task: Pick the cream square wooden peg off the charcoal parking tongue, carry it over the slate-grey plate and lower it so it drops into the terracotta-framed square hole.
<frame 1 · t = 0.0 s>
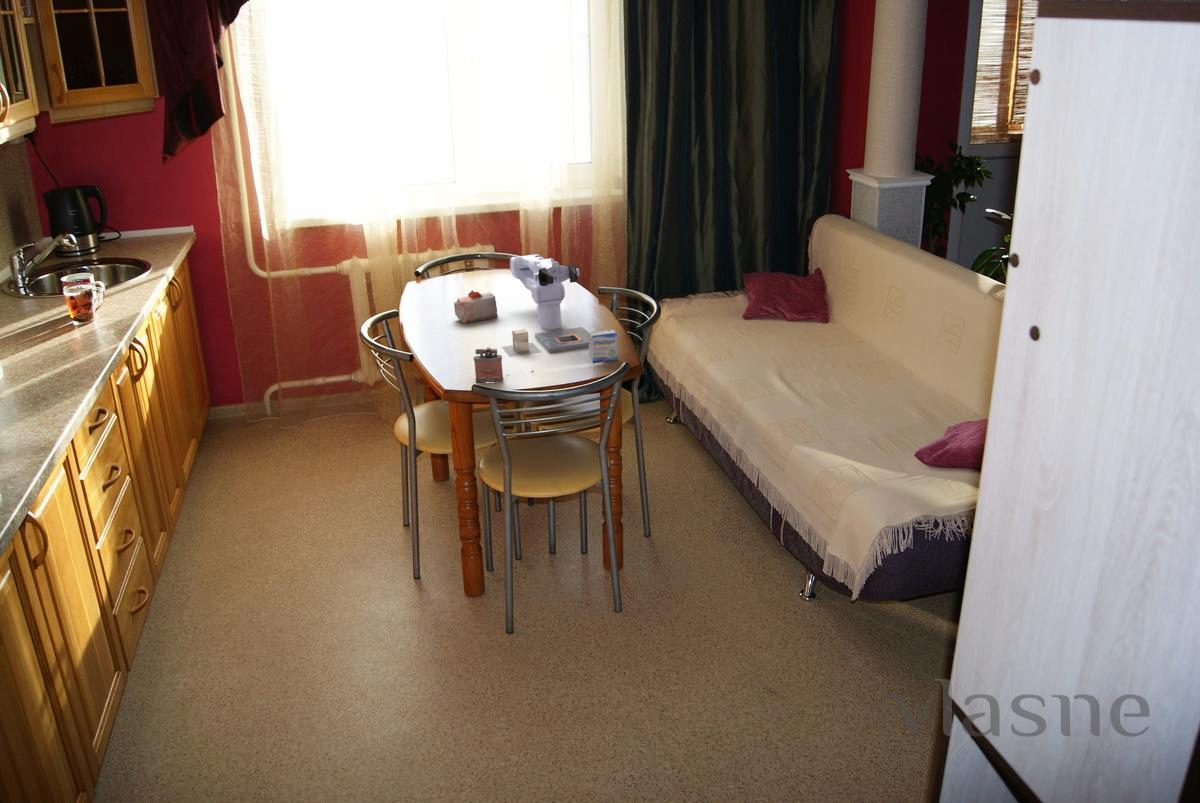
hand: (564, 278, 310), 22 cm above the table, tool horizontal, fingers open, 7 cm apart
food item: (476, 319, 348), on the table
hole plate: (566, 344, 319), on the table
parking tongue: (521, 352, 314), on the table
medicine box: (603, 360, 305), on the table
peg: (521, 349, 313), point 1 cm above the table, touching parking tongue
lighter: (489, 382, 291), on the table
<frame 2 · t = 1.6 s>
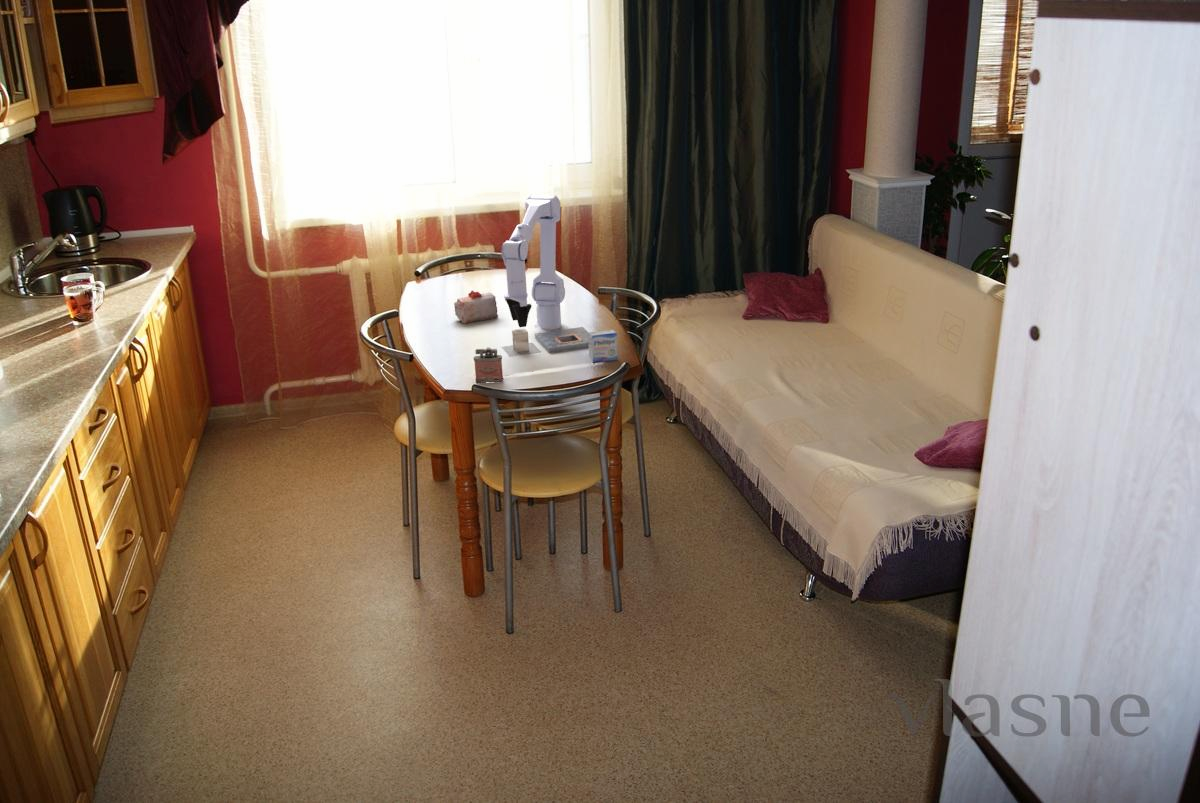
hand: (519, 323, 310), 9 cm above the table, tool pointing down, fingers open, 7 cm apart
nothing on the table moved.
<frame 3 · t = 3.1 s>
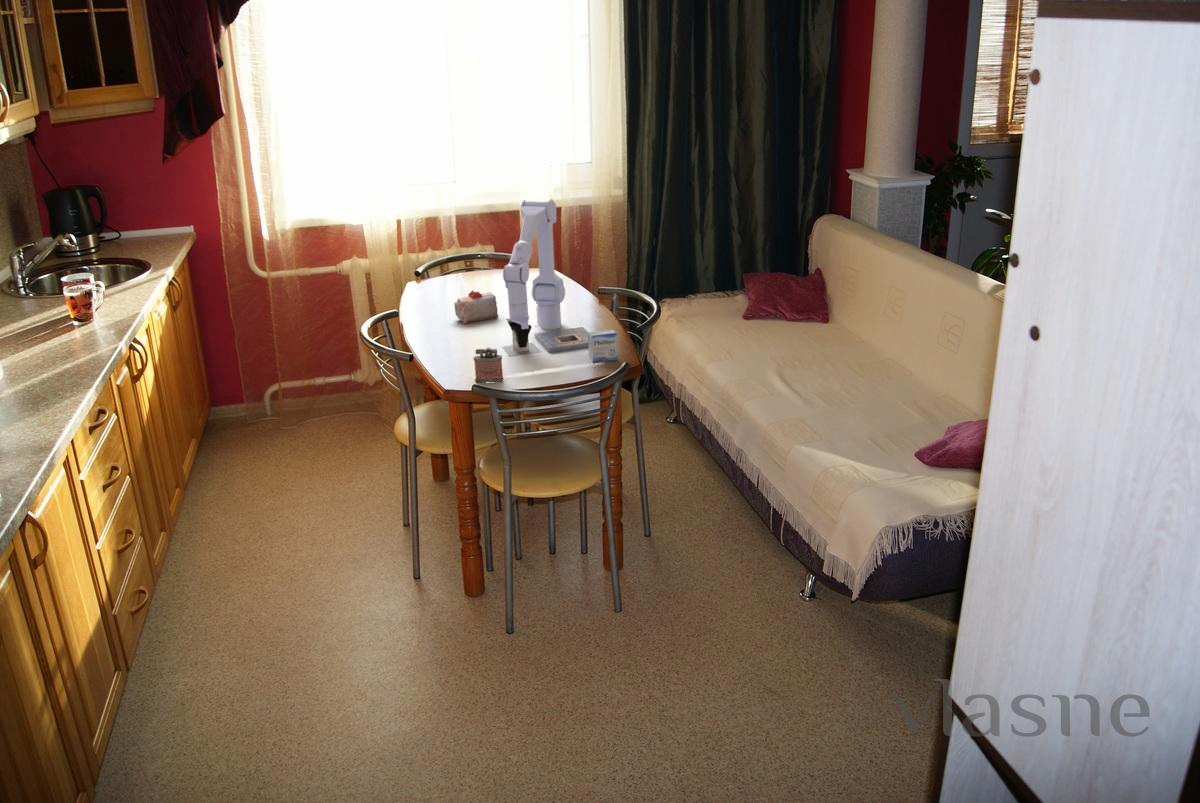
hand: (520, 345, 313), 2 cm above the table, tool pointing down, fingers closed on peg, 4 cm apart
peg: (521, 349, 313), point 1 cm above the table, touching gripper, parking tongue
everything else where it was.
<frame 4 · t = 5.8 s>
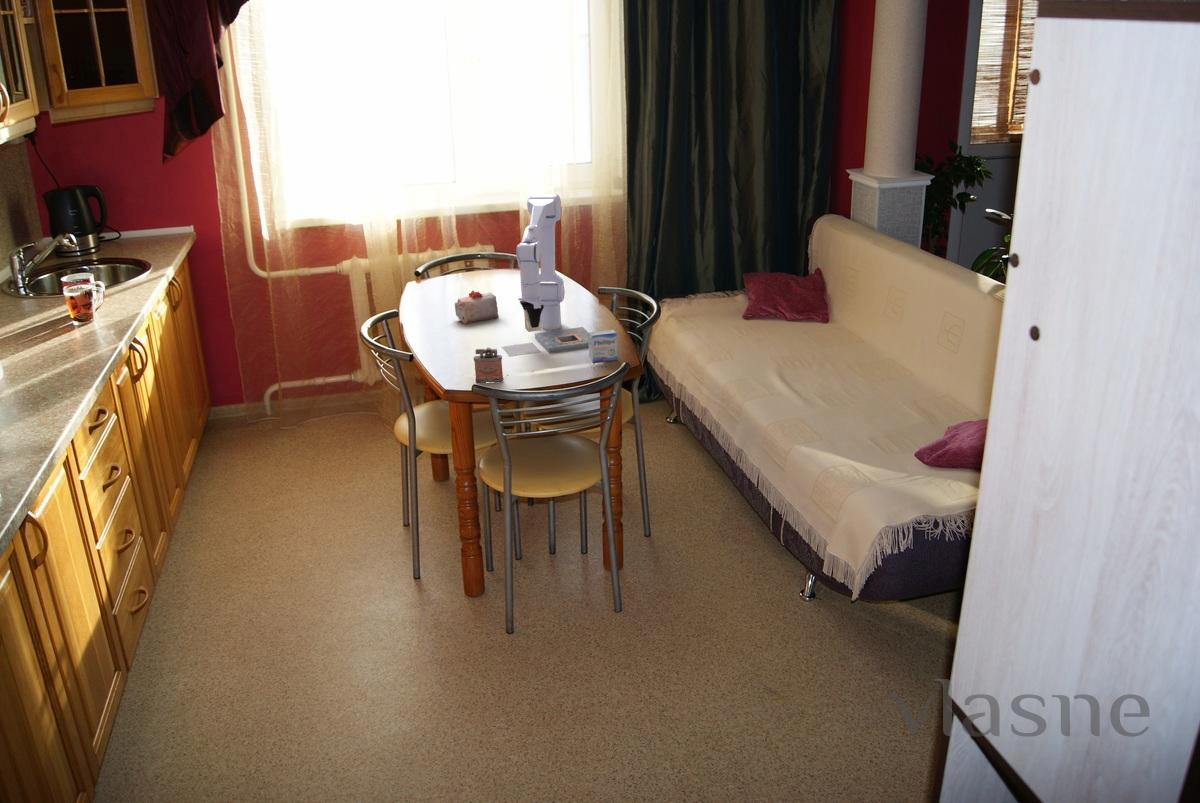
hand: (533, 325, 311), 8 cm above the table, tool pointing down, fingers closed on peg, 4 cm apart
peg: (533, 329, 312), point 7 cm above the table, touching gripper
everything else where it was.
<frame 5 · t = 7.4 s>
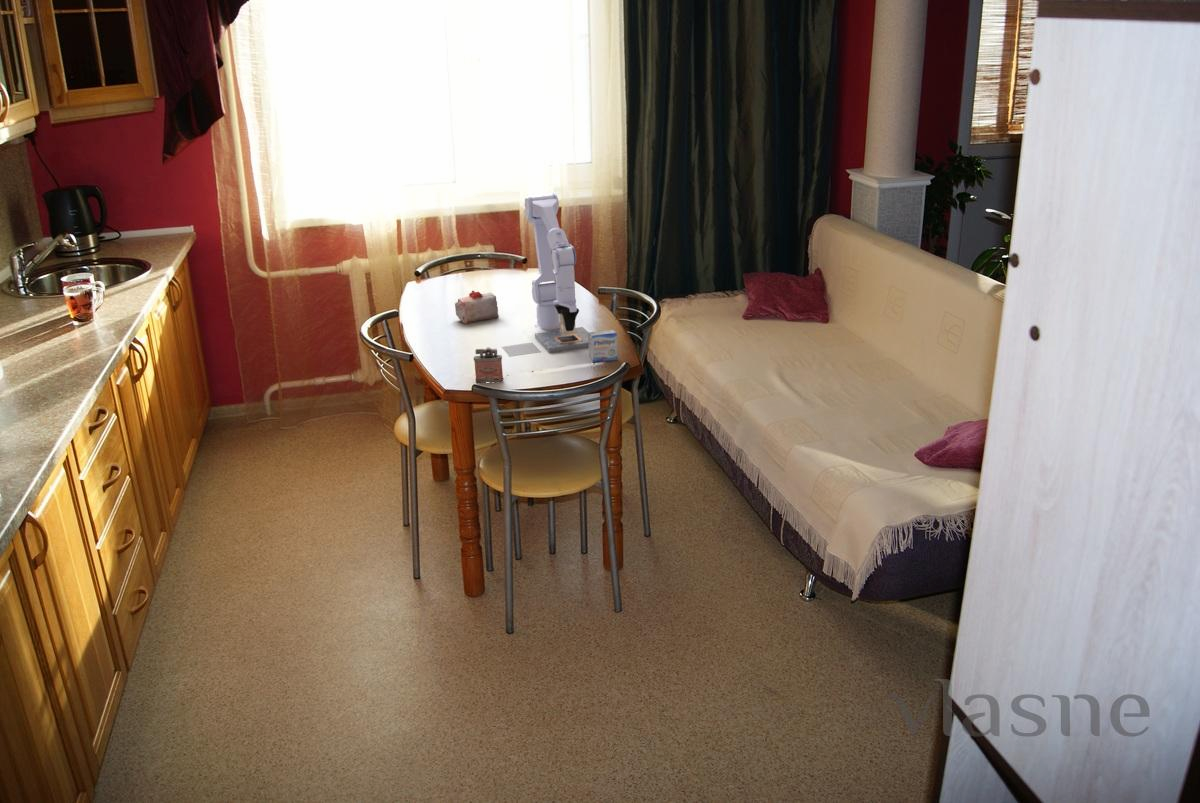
hand: (567, 328, 315), 6 cm above the table, tool pointing down, fingers closed on peg, 4 cm apart
peg: (567, 332, 315), point 5 cm above the table, touching gripper
everything else where it was.
when the fingers open (3 cm above the table, at t = 8.8 s): peg drops 2 cm, resting in hole plate.
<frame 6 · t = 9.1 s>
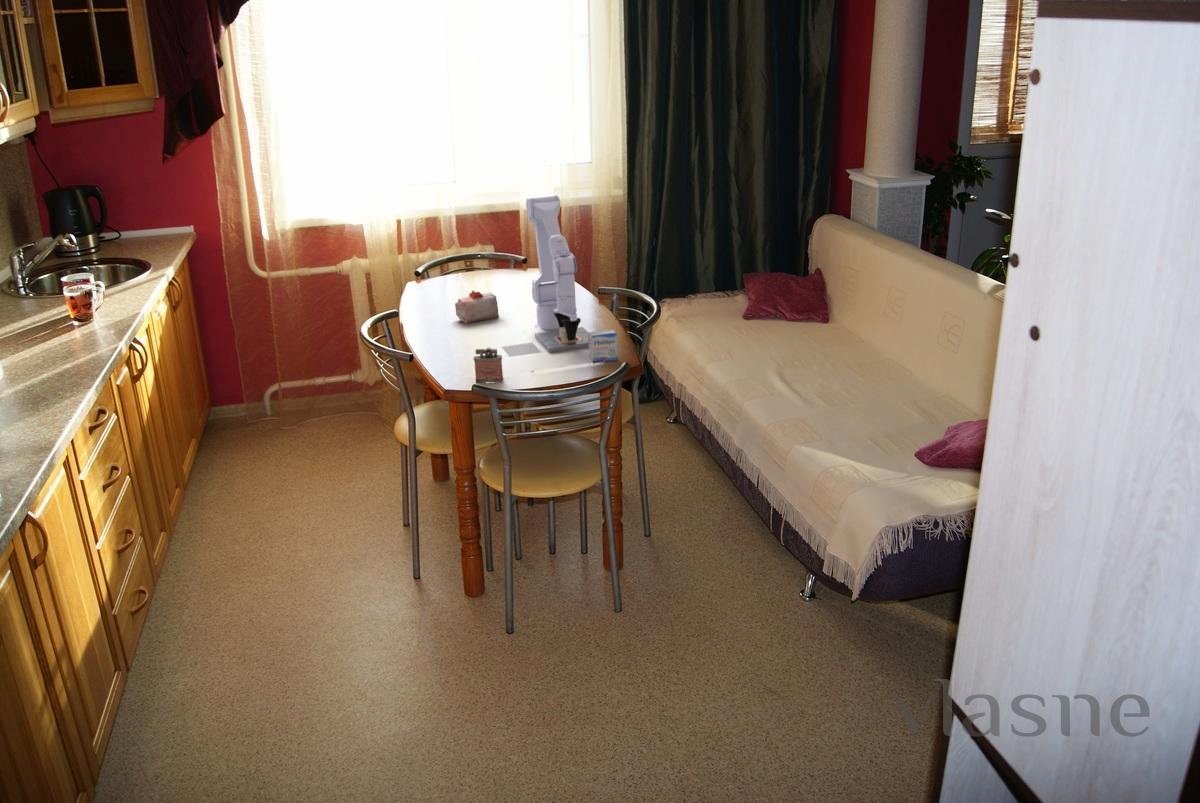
hand: (568, 336, 316), 3 cm above the table, tool pointing down, fingers open, 6 cm apart
peg: (568, 346, 317), resting in hole plate
everything else where it was.
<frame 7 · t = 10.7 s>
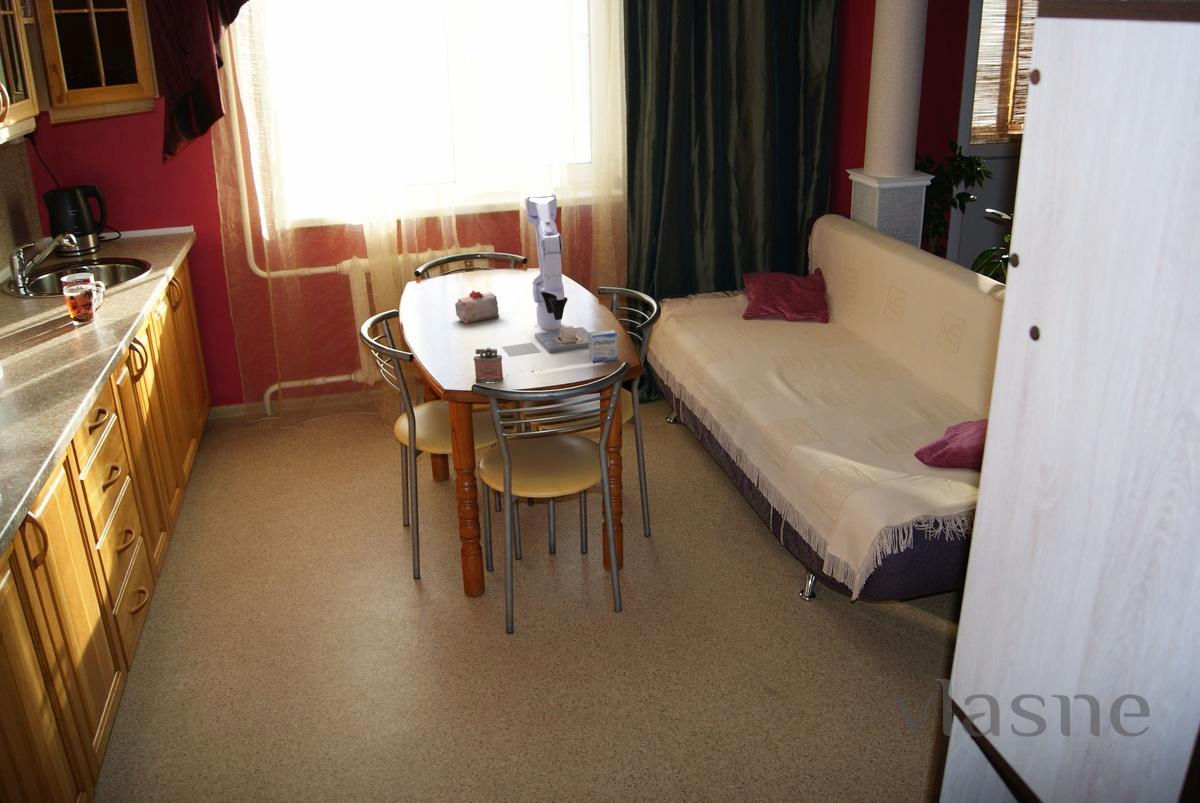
hand: (554, 316, 317), 9 cm above the table, tool pointing down, fingers open, 7 cm apart
nothing on the table moved.
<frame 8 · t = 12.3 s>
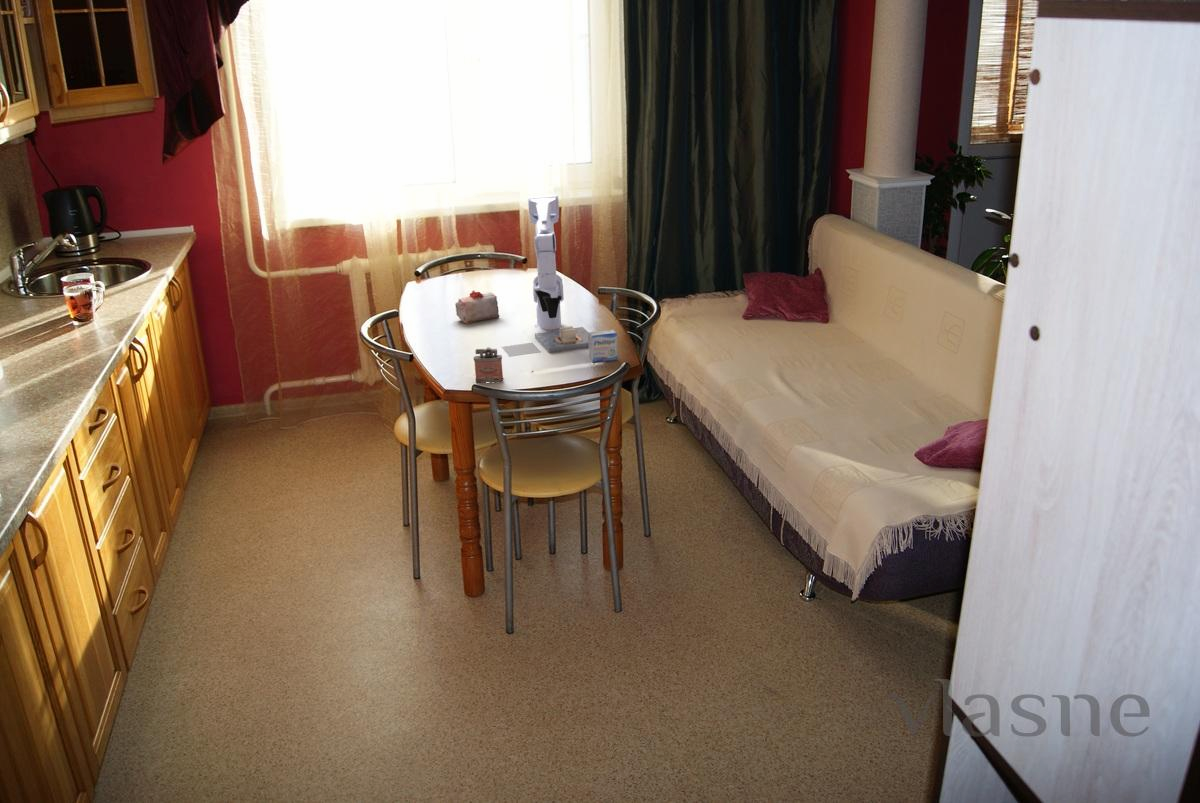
hand: (549, 314, 318), 9 cm above the table, tool pointing down, fingers open, 7 cm apart
nothing on the table moved.
at the end: peg 0.1 cm from the target spot on the hole plate, point 0.0 cm above the hole plate's base; peg tilted 0°; the gripper is holding nothing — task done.
